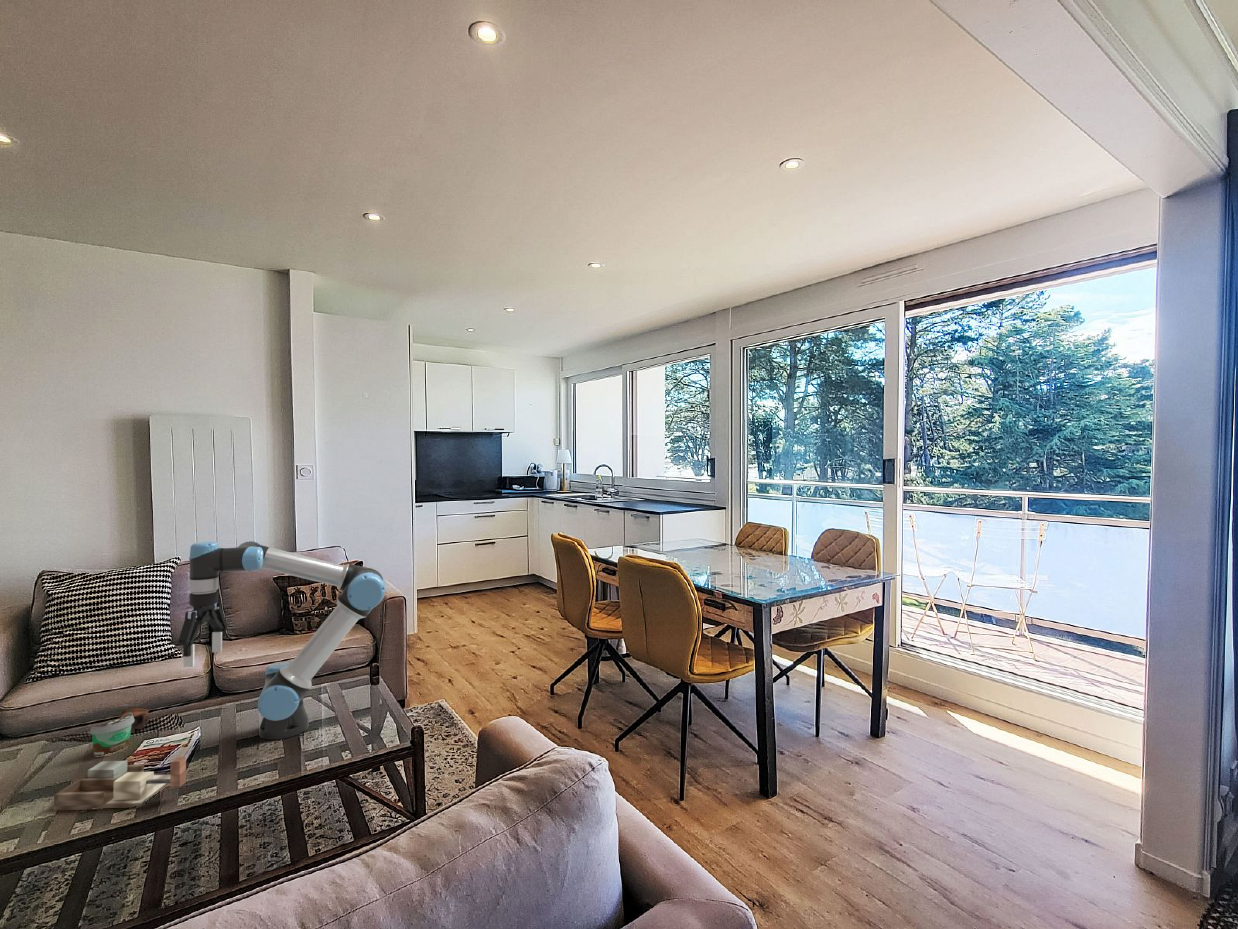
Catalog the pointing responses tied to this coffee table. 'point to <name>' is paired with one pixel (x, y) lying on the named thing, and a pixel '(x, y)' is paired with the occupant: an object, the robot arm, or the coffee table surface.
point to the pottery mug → (137, 718)
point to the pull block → (148, 781)
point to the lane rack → (102, 788)
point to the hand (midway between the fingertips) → (203, 659)
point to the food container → (112, 735)
